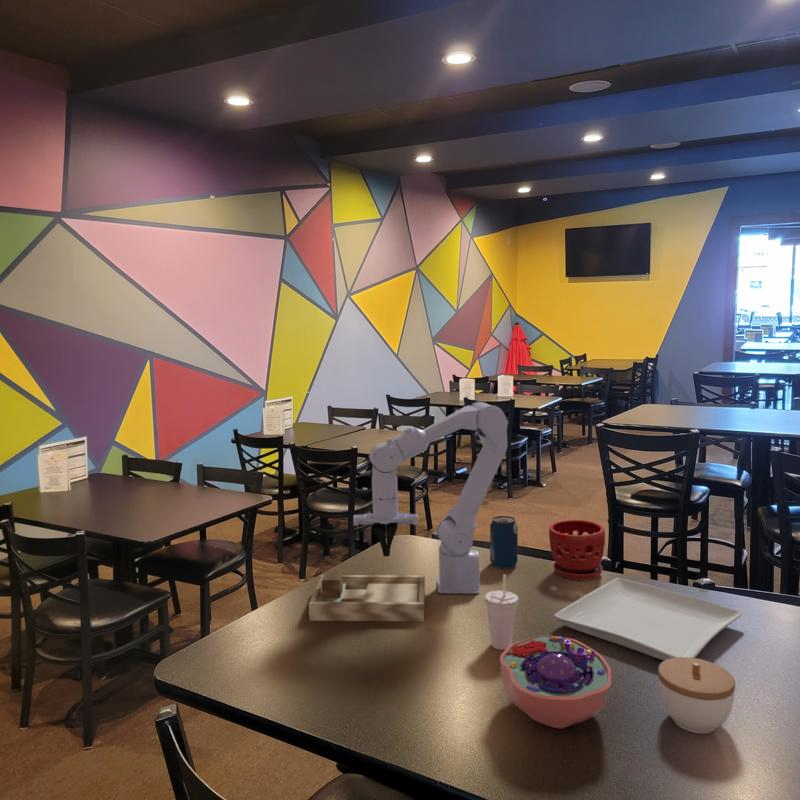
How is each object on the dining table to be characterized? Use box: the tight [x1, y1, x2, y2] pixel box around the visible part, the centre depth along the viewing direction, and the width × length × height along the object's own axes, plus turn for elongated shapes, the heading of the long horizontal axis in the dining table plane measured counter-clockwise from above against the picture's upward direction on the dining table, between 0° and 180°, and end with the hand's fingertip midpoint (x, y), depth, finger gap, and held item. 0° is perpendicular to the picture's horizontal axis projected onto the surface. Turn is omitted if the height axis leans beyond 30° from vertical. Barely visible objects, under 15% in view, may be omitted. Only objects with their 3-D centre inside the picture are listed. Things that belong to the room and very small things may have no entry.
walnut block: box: [322, 572, 343, 598], centre depth 146 cm, size 4×4×4 cm
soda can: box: [489, 515, 519, 570], centre depth 169 cm, size 7×7×12 cm
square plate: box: [553, 577, 743, 662], centre depth 133 cm, size 27×27×4 cm
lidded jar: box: [657, 657, 736, 735], centre depth 101 cm, size 11×11×9 cm
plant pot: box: [548, 519, 606, 581], centre depth 162 cm, size 13×13×12 cm
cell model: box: [499, 635, 612, 729], centre depth 104 cm, size 17×20×11 cm
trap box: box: [308, 574, 426, 622], centre depth 146 cm, size 24×16×4 cm, turn 87°
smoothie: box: [484, 573, 519, 651], centre depth 126 cm, size 6×6×14 cm
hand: (386, 555), depth 151 cm, fingers closed
